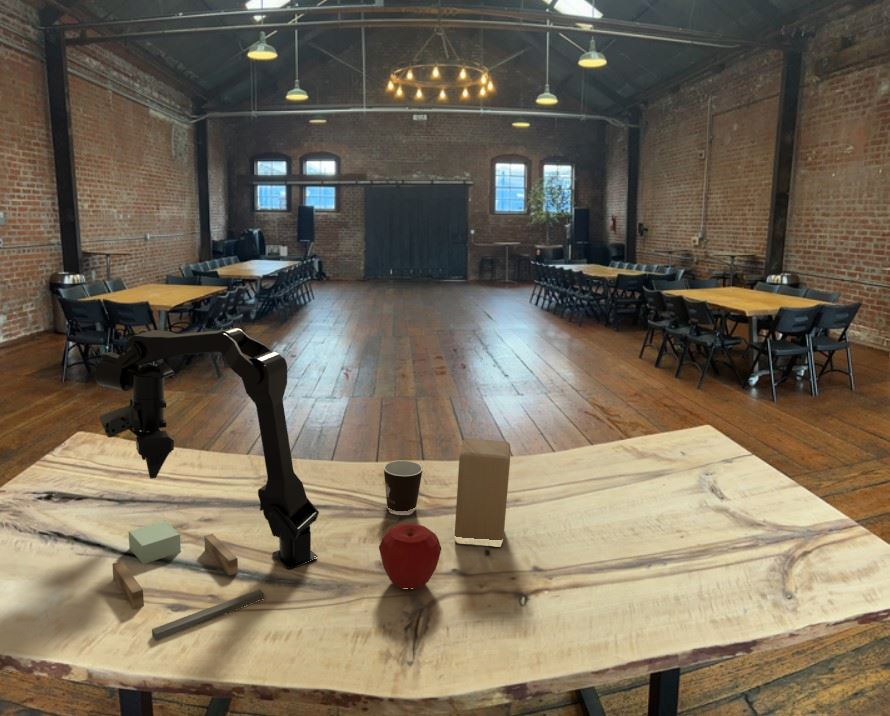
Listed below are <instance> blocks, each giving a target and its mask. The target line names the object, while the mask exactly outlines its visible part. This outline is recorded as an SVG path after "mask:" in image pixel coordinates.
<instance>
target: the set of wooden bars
mask: <svg viewBox="0 0 890 716" xmlns="http://www.w3.org/2000/svg"><path fill="white" fill-rule="evenodd" d="M204 551H205V552H206V553H207V554H208V555H209V556H210V557H211V558H212V559H213V560H214V562H215V563H217V564H218V565H219V566H220V567H221V569H223V571H224V572H225V573H226V574H227V575H228V576H233V575H235V574H238V573H239V570H238V569H239V567H238V566H239V565H238V562H239V561H238V560H239V559H238V557H237V556H236V555H235V554H234V553H233V552H232V551H231V550H230V549H229V548H228V547H227V546H226V545H225V544H224V543H223V541H220V539H219V538H217V536H216V535H214V534H213V533H211V534H207V535H204ZM111 566H112V577H113V578H112V579H113V581H114V582H115V583H116V585H117V586H118V588H119V590H120V591H121V592H122V593H123V595H124V596H125V598H126V599H127V601H128V603H129V604H130V605H131V607H132V608H133V610H135V609H137V608H140V607H143V606H145V604H144V603H145V602H144V601H145V600H144V590H143V589H144V588H143V587H142V586H141V585H140V584H139V582H138V581H137V580H136V578H135V577H134V575H133V574H132V573H131V571H130V570H129V568H128V567H127V565H126V564H125V563H124V562H123V560H120V561H117V562H113V563H112V565H111ZM262 599H264V600H265V592H263V591H262V589H261V588H259V589H256V590H253V591H251V592H248V593H245V594H243V595H240V596H237V597H234V598H232V599H228V600H227V601H223V602H221V603H219V604H216V605H212V606H210V607H207V608H205V609H202V610H199V611H196V612H195V613H191V614H188V615H186V616H183V617H181V618H178V619H175V620H173V621H170V622H167V623H164V624H162V625H158V626H156V627H154V628H151V636H152V638H153V639H154V641H155V642H157V641H159V640H163V639H165V638H167V637H168V638H169V637H170V636H172V635H176V634H178V633H181V632H183V631H186V630H189V629H191V628H193V627H196V626H199V625H201V624H203V623H204V624H205V623H206V622H209V621H211V620H215V619H216V618H217V619H218V618H219V617H222V616H224V614H225V613H227V614H229V612H230V611H233V612H235V611H237V610H236V609H238V610H239V608H240V609H242V608H241V607H243V608H245V607H244V606H246V605H248V606H250V605H249V604H251V603H253V604H255V603H254V602H256V601H258V600H261V601H263V600H262ZM258 602H259V601H258ZM256 603H257V602H256ZM251 605H252V604H251ZM246 607H247V606H246ZM234 610H235V611H234ZM230 613H231V612H230ZM225 615H226V614H225Z"/></svg>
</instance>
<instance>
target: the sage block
mask: <svg viewBox="0 0 890 716" xmlns="http://www.w3.org/2000/svg"><path fill="white" fill-rule="evenodd" d="M127 532H128V546H129V550H130V551H131V552H132V553H133V554H134V555H135V556H136V558H137V559H138V560H139V561H140V562H141V563H142V564H143V565H145V564H148V563H152V562H154V561H157V560H160V559H163V558H167V557H170V556H172V555H175V554H178V553H181V552H182V549H181V548H182V547H181V545H182V544H181V534H180V532H179V531H178V530H176V529H175V528H174V527H173V526H172V525H171V524H170V523H169V522H167V520H162V521H161V520H160V521H157V522H154V523H152V524H148V525H144V526H141V527H137V528H135V529H131V530H128V531H127Z"/></svg>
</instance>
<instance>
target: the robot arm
mask: <svg viewBox="0 0 890 716" xmlns="http://www.w3.org/2000/svg"><path fill="white" fill-rule="evenodd" d="M213 353H221V354H222V355H223V356H224V358H225V360H226V362H227V364H228V365H229V368H230V369H231V370H232V371H233V372H234V373H235V374H237V376H238V377H240V378H241V381H242V385H243V386H244V387H243V388H244V389H245V393H246V394H247V396H248V397H249V398H250V399H251V401H252V402H253V403H254V405H255V408H256V414H257V419H258V427H259V433H260V439H261V446H262V451H263V458H264V464H265V470H266V476H267V478H266V479H267V480H266V483H265V484H264V485H263V486H261V487H260V488H258V490H257V495H258V498H259V502H260V508H259V511H260V512H261V511H262V512H263V516H264V518H265V519H266V521H267V523H268V525H269V528H270V529H269V530H270V531H271V534H272V536H273V537H276V538H279V541H278V542H279V550H275V551H272V553H271V554H272V556H273V558H274V559H276V560H277V561H278V560H279V561H280V562H281V563H282V564H281V563H280V562H279V561H278V562H279V563H280V564H281V565H282V566H283V567H284V568H286V569H288V570H290V568H291V569H293V568H296V567H299V566H302V565H304V564H303V563H305V562H307V563H309V562H308V561H310V560H312V559H314V558H316V557H318V555H317V554H316V553H315V552H314V551H313V550H311V546H312V545H311V543H312V542H311V541H312V535H311V534H312V532H311V525H312V524H313V523H314V522H317V519H318V517H319V514H320V511H319V510H318V509H317V507H315V505H314V504H313V503H312V502H311V500H310V499H309V498H308V497H307V494H306V491H305V487H304V484H303V482H302V481H301V479H300V478H299V476H298V475H297V474H296V473H295V470H294V467H293V466H294V465H293V459H292V452H291V447H290V446H291V445H290V440H289V439H290V438H289V433H288V426H287V420H286V413H285V407H284V396H285V393H286V389H287V384H288V363H287V360H286V358H285V357H284V356H282V355H281V354H280V353H278V352H275V351H273V350H272V349H271V348H270V347H269V346H268V345H266V344H265V343H263V342H261V341H259V340H257V339H255V338H253V337H251V336H249V335H248V334H247V333H246V332H244V331H243V330H242V329H240V328H237V327H231V328H227V329H222V330H221V329H220V330H212V331H211V330H210V331H209V330H208V331H199V332H189V333H188V332H186V333H175V332H172V331H169V330H168V331H167V330H161V329H160V330H158V329H154V330H150V331H146V332H142V333H138V334H134V335H131V336H129V337H128V339H127V341H126V345H125V348H124V349H123V350H122V351H121V353H120V354H117V353H115V352H111V351H109V352H105V353H103V354H102V355H101V356H102V357H101V360H100V361H99V362H98V364H97V365H96V368H95V370H94V373H93V377H94V380H95V383H96V384H97V385H99V386H102V387H105V388H106V387H107V388H111V389H116V390H119V391H126V392H127V391H130V390H132V394H131V396H130V399H128V405H126V406H123V407H119V408H117V409H114V410H111V411H109V412H107V413H104V414H101V415H100V416H99V422H100V425H101V427H102V428H103V431H104V433H105V434H106V437H107V438H109V439H110V438H114V437H117V435H118V434H121V433H123V432H127V431H130V432H131V433H133V434H134V435H135V447H136V448H135V449H136V451H137V453H138V455H139V456H141V458H142V459H141V460H143V461H144V460H145V462H146V467H147V471H148V475H149V476H148V477H149V478H150V479H156V478H157V476H158V474H159V472H161V471H160V470H161V469H162V467H163V465H164V463H165V461H166V460H167V458H168V456H169V455H170V453H172V452H173V451H174V450H175V440H174V438H173V436H172V434H171V433H170V432H168V431H167V430H165V429H164V430H161V429H162V428H167V421H166V419H165V409H166V408H167V402H166V400H165V378H168V377H170V376H173V375H174V374H175V372H174V370H173V369H172V368H171V367H170V366H168V365H167V363H166V362H163V363H160V364H152V363H153V362H156V361H159V360H163V359H166V358H169V357H174V356H175V357H176V356H177V357H178V356H185V355H186V356H188V355H197V354H198V355H200V354H213ZM247 356H248V357H250V358H247ZM314 556H316V557H314ZM310 562H311V561H310ZM301 564H302V565H301ZM305 564H306V563H305ZM298 565H299V566H298Z"/></svg>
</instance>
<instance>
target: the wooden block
mask: <svg viewBox="0 0 890 716" xmlns="http://www.w3.org/2000/svg"><path fill="white" fill-rule="evenodd" d="M458 462H459V463H458V476H457V488H456V489H457V492H456V505H455V506H456V507H455V521H454V536H456V537H462V538H474V539H489V540H502V539H503V538H504V539H505V537H504V535H505V526H506V514H507V501H508V492H509V491H508V490H509V478H510V477H509V476H510V465H511V444H510V442H508V441H505V440H495V439H494V440H493V439H484V438H483V439H481V438H472V437H471V438H470V437H466V438H464V439H463V440H462V443H461V448H460V452H459V460H458ZM504 539H503V540H504Z"/></svg>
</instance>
